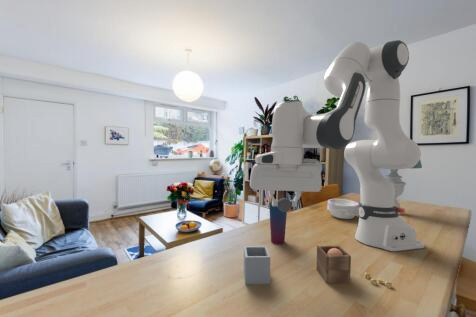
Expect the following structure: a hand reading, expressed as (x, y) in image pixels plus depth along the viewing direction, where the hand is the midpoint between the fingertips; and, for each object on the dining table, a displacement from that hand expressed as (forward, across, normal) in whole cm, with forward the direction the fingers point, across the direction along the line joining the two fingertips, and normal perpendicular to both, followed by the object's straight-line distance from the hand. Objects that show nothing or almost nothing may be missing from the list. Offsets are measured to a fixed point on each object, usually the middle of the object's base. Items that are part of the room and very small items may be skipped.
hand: (284, 206), depth 64 cm
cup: (+18, -3, -20) cm, 28 cm away
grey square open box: (+19, +8, +4) cm, 21 cm away
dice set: (+19, -24, +6) cm, 31 cm away
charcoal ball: (+2, 0, 0) cm, 2 cm away
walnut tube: (+18, -13, +4) cm, 23 cm away
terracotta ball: (+13, -13, +3) cm, 19 cm away
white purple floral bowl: (+17, -44, -51) cm, 70 cm away
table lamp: (+15, -76, -58) cm, 97 cm away
